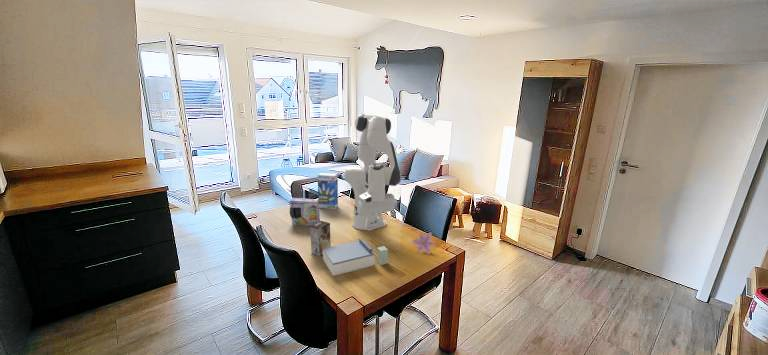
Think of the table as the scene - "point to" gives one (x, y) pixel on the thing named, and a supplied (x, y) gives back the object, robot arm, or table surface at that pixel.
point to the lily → (424, 242)
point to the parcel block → (382, 255)
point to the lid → (348, 251)
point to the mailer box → (349, 264)
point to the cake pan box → (304, 211)
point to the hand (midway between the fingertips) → (376, 220)
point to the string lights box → (328, 190)
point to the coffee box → (320, 237)
